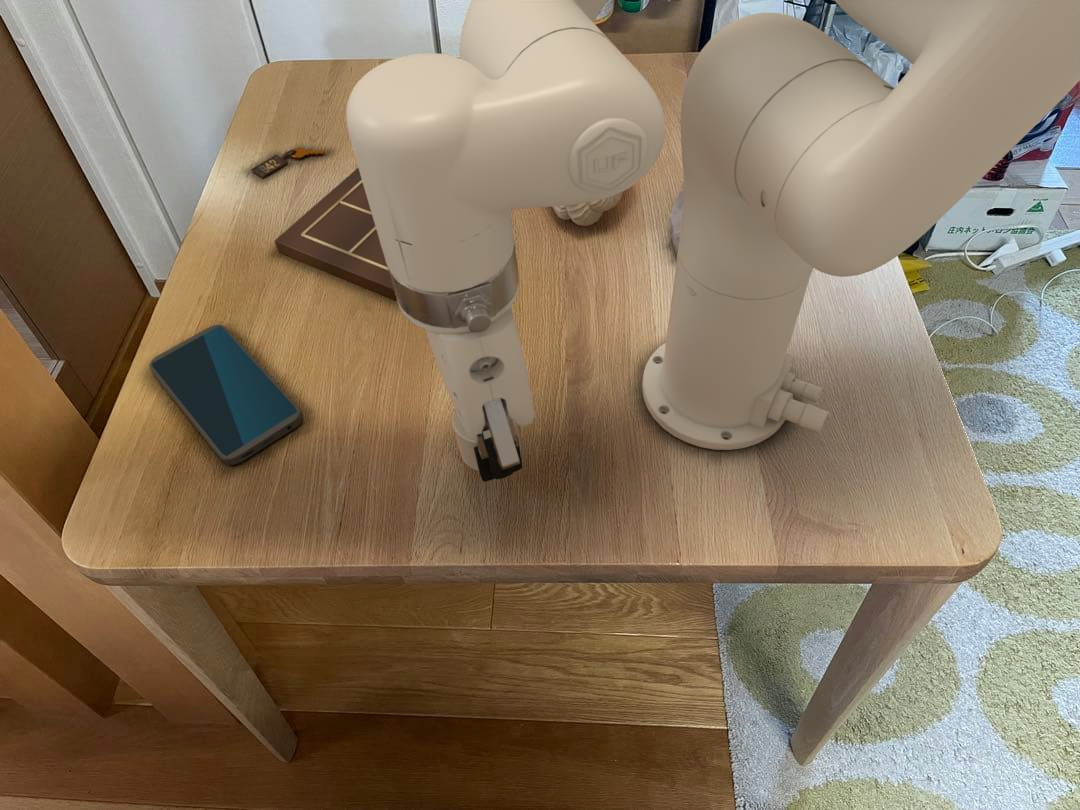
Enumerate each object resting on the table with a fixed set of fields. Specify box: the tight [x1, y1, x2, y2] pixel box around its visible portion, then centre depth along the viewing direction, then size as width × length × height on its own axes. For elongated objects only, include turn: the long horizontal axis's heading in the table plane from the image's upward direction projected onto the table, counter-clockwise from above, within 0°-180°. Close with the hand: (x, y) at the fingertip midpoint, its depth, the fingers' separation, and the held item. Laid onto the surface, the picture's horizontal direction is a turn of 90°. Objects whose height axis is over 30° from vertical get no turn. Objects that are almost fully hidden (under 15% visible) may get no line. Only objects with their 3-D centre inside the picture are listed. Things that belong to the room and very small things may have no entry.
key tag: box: [250, 147, 326, 179], centre depth 93 cm, size 8×3×1 cm, turn 124°
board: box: [274, 167, 397, 302], centre depth 85 cm, size 16×16×2 cm
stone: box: [451, 409, 522, 472], centre depth 62 cm, size 5×5×4 cm
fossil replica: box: [551, 190, 625, 227], centre depth 84 cm, size 12×8×10 cm
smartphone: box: [149, 324, 304, 466], centre depth 72 cm, size 8×15×1 cm, turn 42°
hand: (490, 443), depth 63 cm, fingers closed on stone, 4 cm apart
